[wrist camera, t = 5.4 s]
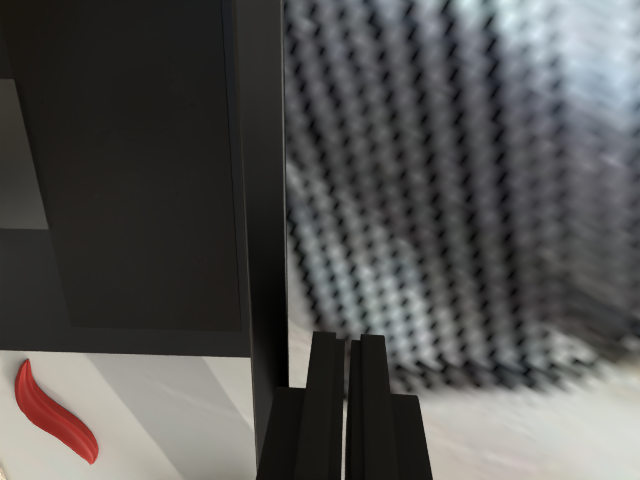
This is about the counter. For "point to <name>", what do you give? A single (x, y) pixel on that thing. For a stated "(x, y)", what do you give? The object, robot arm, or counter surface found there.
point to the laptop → (121, 179)
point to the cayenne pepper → (53, 416)
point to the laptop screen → (263, 195)
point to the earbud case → (2, 475)
